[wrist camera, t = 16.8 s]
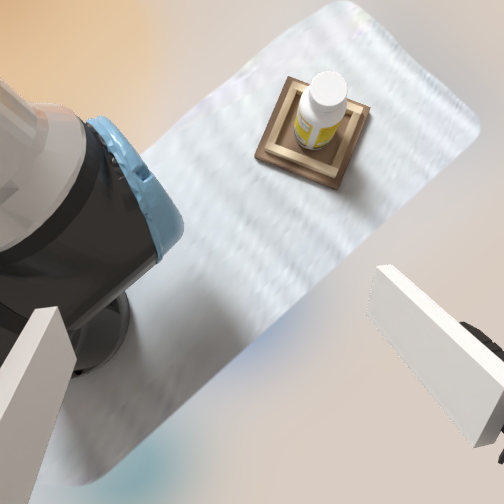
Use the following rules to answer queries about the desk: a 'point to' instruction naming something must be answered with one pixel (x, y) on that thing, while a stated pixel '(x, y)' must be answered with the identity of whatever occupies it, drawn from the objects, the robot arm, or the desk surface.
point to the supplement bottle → (320, 110)
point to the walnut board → (299, 158)
